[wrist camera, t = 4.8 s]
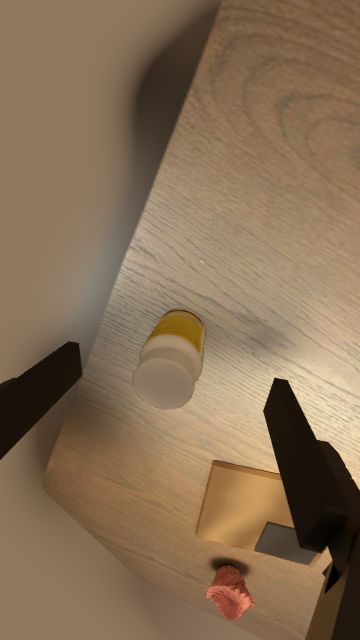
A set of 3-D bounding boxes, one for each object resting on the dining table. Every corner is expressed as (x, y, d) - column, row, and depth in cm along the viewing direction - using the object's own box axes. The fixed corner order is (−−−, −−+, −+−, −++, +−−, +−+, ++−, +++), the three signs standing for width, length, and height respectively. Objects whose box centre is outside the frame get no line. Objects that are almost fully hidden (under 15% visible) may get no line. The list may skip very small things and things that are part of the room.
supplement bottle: (153, 312, 20) (115, 358, 13) (199, 302, 19) (189, 346, 11) (166, 353, 22) (139, 417, 14) (210, 347, 21) (207, 412, 13)
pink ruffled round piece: (209, 574, 39) (209, 625, 34) (203, 552, 36) (201, 603, 31) (253, 580, 37) (259, 635, 32) (249, 557, 34) (256, 613, 29)
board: (196, 530, 34) (195, 539, 33) (213, 459, 27) (213, 468, 26) (310, 559, 32) (313, 570, 31) (360, 492, 25) (367, 502, 24)
